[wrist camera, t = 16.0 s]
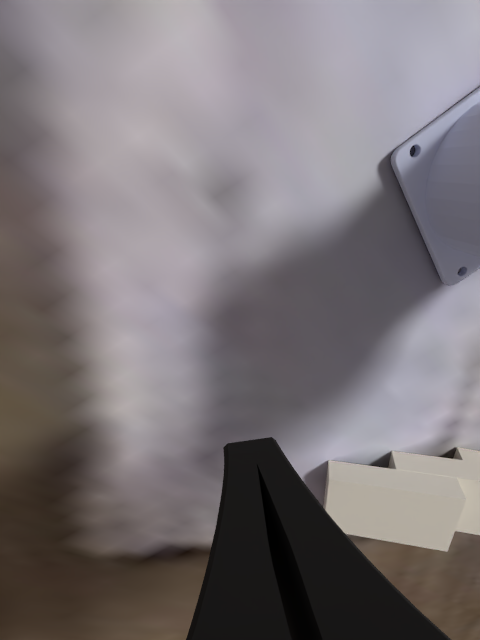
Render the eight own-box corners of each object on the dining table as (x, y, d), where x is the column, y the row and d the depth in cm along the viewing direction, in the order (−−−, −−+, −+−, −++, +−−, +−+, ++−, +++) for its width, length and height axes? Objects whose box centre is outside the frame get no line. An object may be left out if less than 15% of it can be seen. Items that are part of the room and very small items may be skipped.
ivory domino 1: (328, 460, 23) (456, 477, 22) (322, 509, 25) (439, 528, 24) (329, 479, 22) (466, 499, 20) (323, 529, 24) (447, 551, 22)
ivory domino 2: (391, 450, 24) (521, 467, 22) (381, 499, 26) (498, 518, 24) (396, 469, 22) (534, 488, 21) (384, 519, 25) (509, 540, 23)
